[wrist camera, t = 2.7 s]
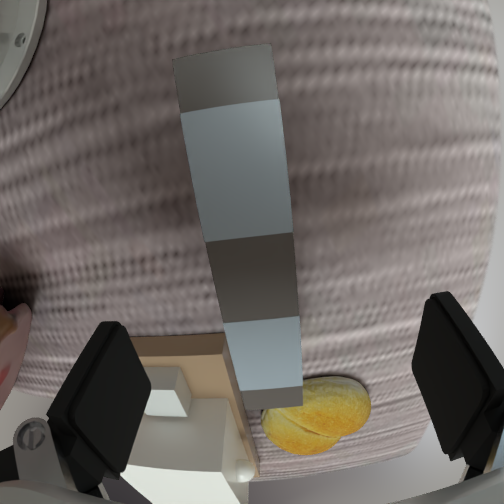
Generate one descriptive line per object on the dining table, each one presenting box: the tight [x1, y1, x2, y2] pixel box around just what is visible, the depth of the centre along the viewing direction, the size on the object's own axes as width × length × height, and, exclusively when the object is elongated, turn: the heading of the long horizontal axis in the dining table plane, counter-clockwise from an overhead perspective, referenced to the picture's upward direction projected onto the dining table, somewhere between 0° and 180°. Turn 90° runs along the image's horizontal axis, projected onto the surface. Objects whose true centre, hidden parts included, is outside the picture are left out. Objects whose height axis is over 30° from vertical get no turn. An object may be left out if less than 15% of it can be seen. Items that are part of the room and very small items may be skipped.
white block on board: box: [120, 333, 260, 504], centre depth 22 cm, size 20×10×8 cm, turn 8°
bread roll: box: [261, 376, 371, 455], centre depth 23 cm, size 8×9×4 cm
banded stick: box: [172, 43, 303, 410], centre depth 14 cm, size 16×3×6 cm, turn 8°
